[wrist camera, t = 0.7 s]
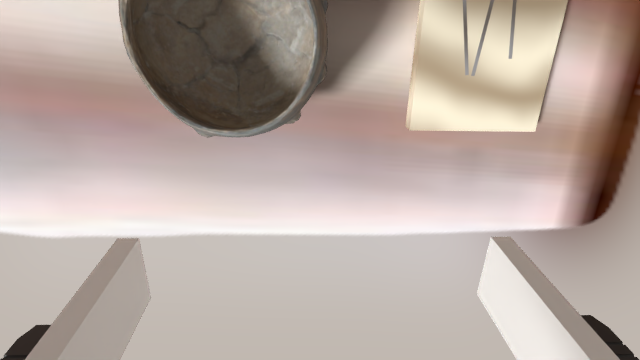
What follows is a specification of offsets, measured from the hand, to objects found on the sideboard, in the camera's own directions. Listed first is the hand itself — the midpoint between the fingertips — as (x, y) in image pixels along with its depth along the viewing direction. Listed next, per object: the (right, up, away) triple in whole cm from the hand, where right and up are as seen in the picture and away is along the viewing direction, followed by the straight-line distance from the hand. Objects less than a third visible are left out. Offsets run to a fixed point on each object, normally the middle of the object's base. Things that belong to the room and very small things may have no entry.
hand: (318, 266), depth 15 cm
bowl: (-7, +16, +19) cm, 26 cm away
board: (+15, +20, +18) cm, 30 cm away
